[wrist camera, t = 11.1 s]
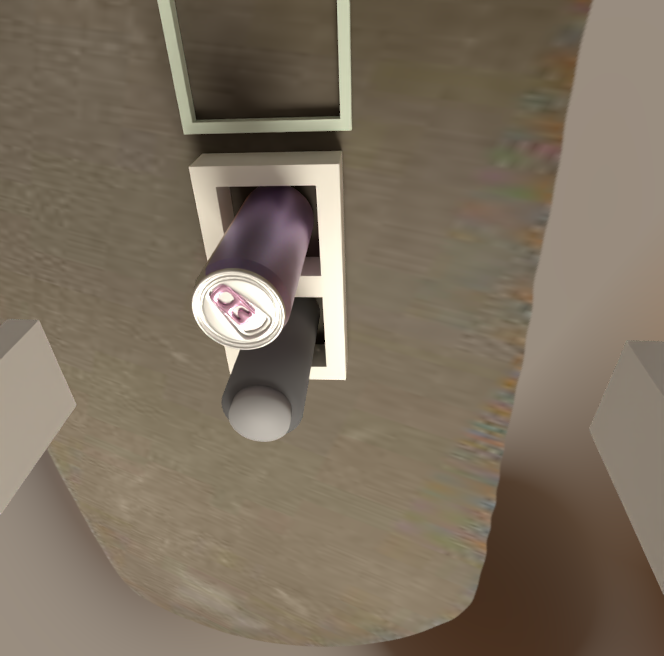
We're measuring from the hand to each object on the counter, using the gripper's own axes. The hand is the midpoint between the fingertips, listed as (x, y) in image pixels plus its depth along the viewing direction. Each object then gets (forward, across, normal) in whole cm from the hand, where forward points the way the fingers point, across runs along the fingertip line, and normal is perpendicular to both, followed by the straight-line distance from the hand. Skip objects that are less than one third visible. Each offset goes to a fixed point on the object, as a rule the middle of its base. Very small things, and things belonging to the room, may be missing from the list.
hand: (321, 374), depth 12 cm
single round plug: (+30, -6, -18) cm, 36 cm away
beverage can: (+30, -7, -9) cm, 32 cm away
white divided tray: (+30, -7, -14) cm, 33 cm away
